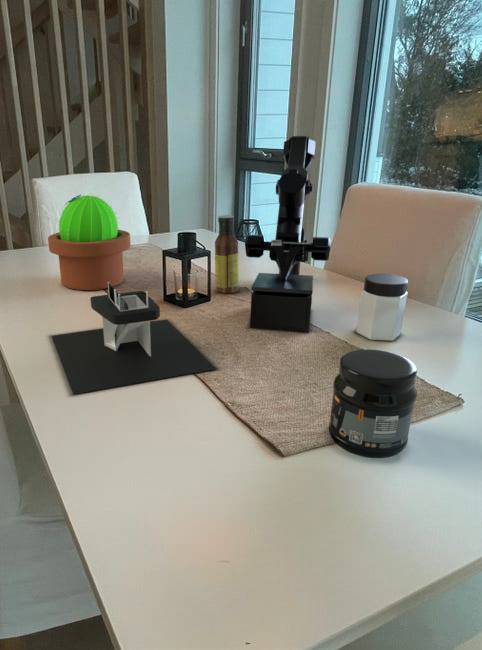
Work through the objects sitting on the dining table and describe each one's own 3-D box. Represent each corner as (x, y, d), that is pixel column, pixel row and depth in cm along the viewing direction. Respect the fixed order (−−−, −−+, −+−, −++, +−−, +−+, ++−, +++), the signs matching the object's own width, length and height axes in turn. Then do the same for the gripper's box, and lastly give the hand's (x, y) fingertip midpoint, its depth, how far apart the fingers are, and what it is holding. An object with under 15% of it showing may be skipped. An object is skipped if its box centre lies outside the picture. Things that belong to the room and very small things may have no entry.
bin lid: (312, 294, 105) (312, 290, 105) (251, 290, 108) (251, 286, 108) (312, 278, 119) (313, 275, 119) (258, 276, 122) (258, 272, 122)
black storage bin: (308, 332, 109) (312, 298, 106) (249, 328, 112) (251, 294, 109) (309, 310, 122) (312, 279, 119) (257, 307, 125) (258, 276, 122)
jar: (409, 338, 106) (419, 282, 101) (377, 344, 103) (385, 286, 99) (379, 324, 114) (387, 271, 109) (348, 329, 111) (355, 275, 106)
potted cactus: (146, 278, 150) (142, 190, 141) (97, 298, 133) (89, 199, 124) (89, 269, 161) (82, 186, 152) (37, 286, 144) (26, 195, 135)
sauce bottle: (238, 287, 141) (240, 214, 133) (238, 294, 135) (241, 218, 127) (214, 287, 141) (215, 214, 133) (213, 294, 135) (214, 218, 128)
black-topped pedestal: (51, 336, 110) (44, 275, 104) (166, 320, 118) (165, 263, 113) (73, 395, 85) (65, 320, 80) (216, 369, 94) (217, 299, 88)
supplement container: (355, 412, 79) (365, 341, 74) (421, 442, 71) (437, 365, 66) (312, 437, 73) (320, 361, 68) (379, 472, 65) (393, 389, 60)
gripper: (328, 242, 124) (324, 299, 118) (251, 239, 128) (243, 294, 123) (332, 214, 114) (328, 275, 108) (248, 212, 118) (240, 270, 112)
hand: (283, 280), depth 113 cm, fingers closed, pressing on bin lid
